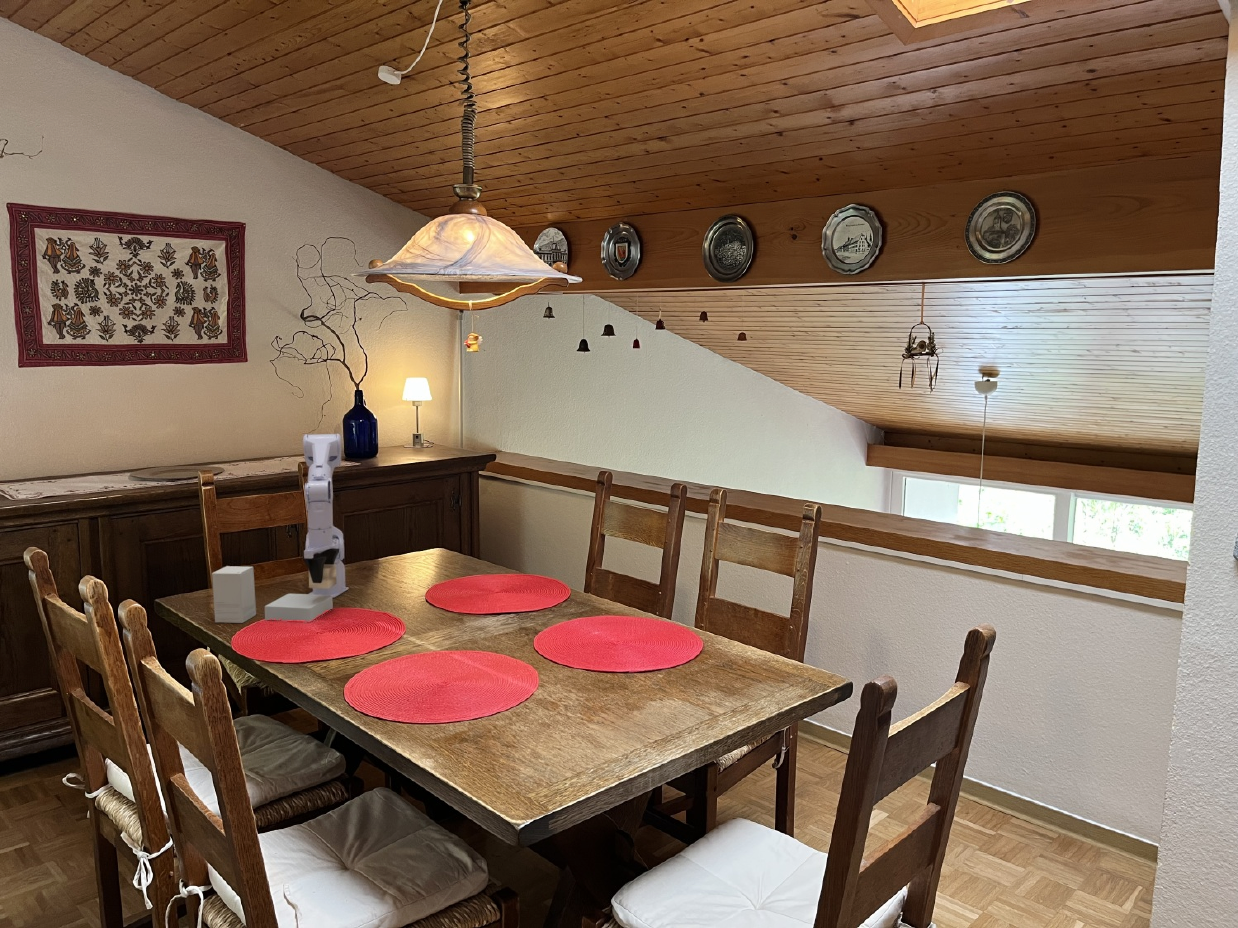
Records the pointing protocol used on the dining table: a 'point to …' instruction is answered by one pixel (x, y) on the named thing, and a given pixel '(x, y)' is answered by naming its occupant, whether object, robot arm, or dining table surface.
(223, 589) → the supplement box
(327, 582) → the birch cube
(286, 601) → the grey block
